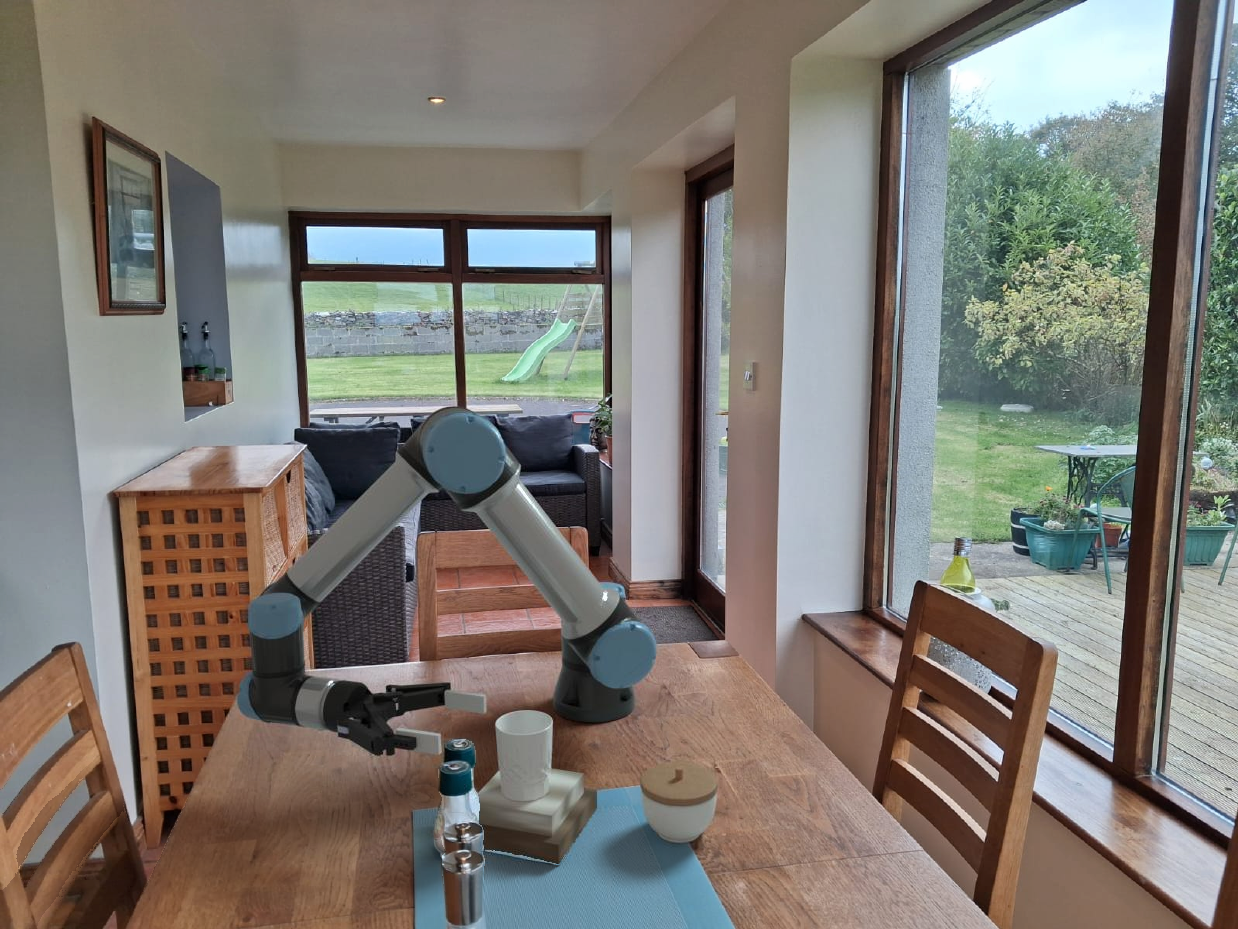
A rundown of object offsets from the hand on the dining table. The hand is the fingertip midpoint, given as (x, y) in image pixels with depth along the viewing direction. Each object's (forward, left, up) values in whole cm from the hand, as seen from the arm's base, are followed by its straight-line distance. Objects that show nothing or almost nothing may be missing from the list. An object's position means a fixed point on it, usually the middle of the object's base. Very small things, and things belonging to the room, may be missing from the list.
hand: (463, 723), depth 131 cm
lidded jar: (-29, +10, -14) cm, 34 cm away
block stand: (-8, +5, -14) cm, 17 cm away
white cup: (-8, +5, -8) cm, 13 cm away
